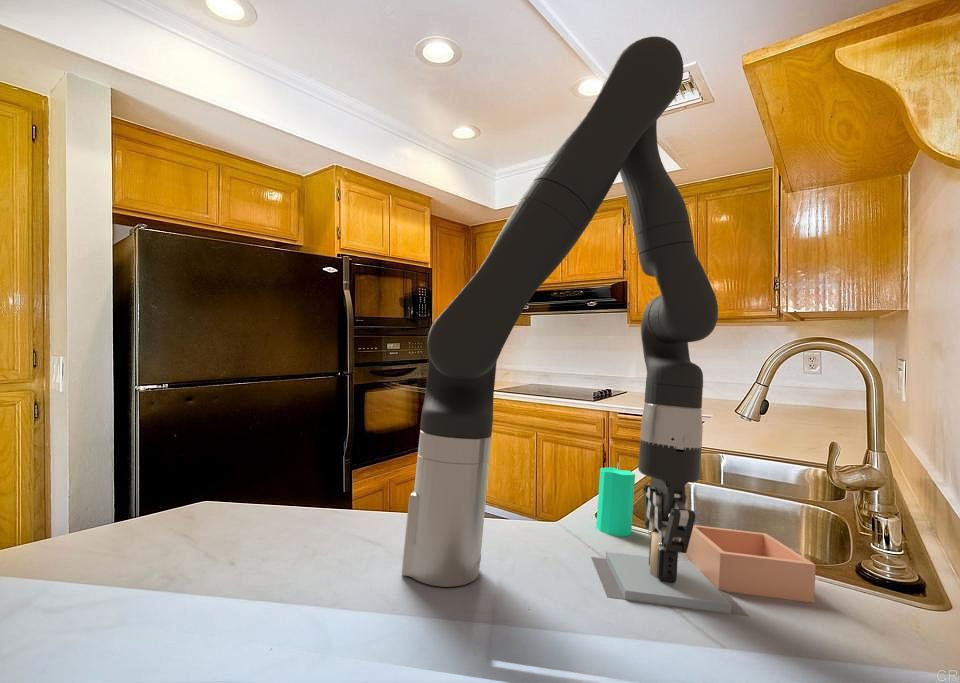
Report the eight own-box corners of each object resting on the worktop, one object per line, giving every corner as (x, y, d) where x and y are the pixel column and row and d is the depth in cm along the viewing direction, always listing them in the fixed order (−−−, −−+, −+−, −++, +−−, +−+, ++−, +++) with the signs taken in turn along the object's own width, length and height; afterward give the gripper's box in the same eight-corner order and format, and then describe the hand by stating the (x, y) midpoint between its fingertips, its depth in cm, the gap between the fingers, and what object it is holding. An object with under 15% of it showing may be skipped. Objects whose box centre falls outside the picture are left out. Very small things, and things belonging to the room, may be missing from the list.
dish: (718, 593, 58) (720, 553, 59) (685, 557, 70) (687, 524, 70) (814, 605, 57) (815, 564, 58) (764, 567, 69) (766, 533, 69)
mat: (607, 600, 54) (607, 596, 54) (590, 559, 66) (591, 556, 66) (749, 619, 52) (749, 615, 52) (706, 574, 64) (706, 571, 64)
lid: (624, 599, 53) (628, 546, 54) (605, 558, 65) (608, 516, 66) (731, 613, 52) (733, 560, 53) (691, 569, 64) (694, 526, 65)
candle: (626, 541, 75) (631, 467, 76) (590, 531, 78) (596, 461, 79) (635, 532, 80) (639, 463, 81) (601, 523, 83) (606, 457, 84)
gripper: (628, 431, 67) (620, 550, 66) (657, 445, 53) (647, 596, 52) (680, 436, 67) (673, 557, 66) (723, 452, 53) (715, 606, 52)
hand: (661, 574), depth 59 cm, fingers closed on lid, 3 cm apart
